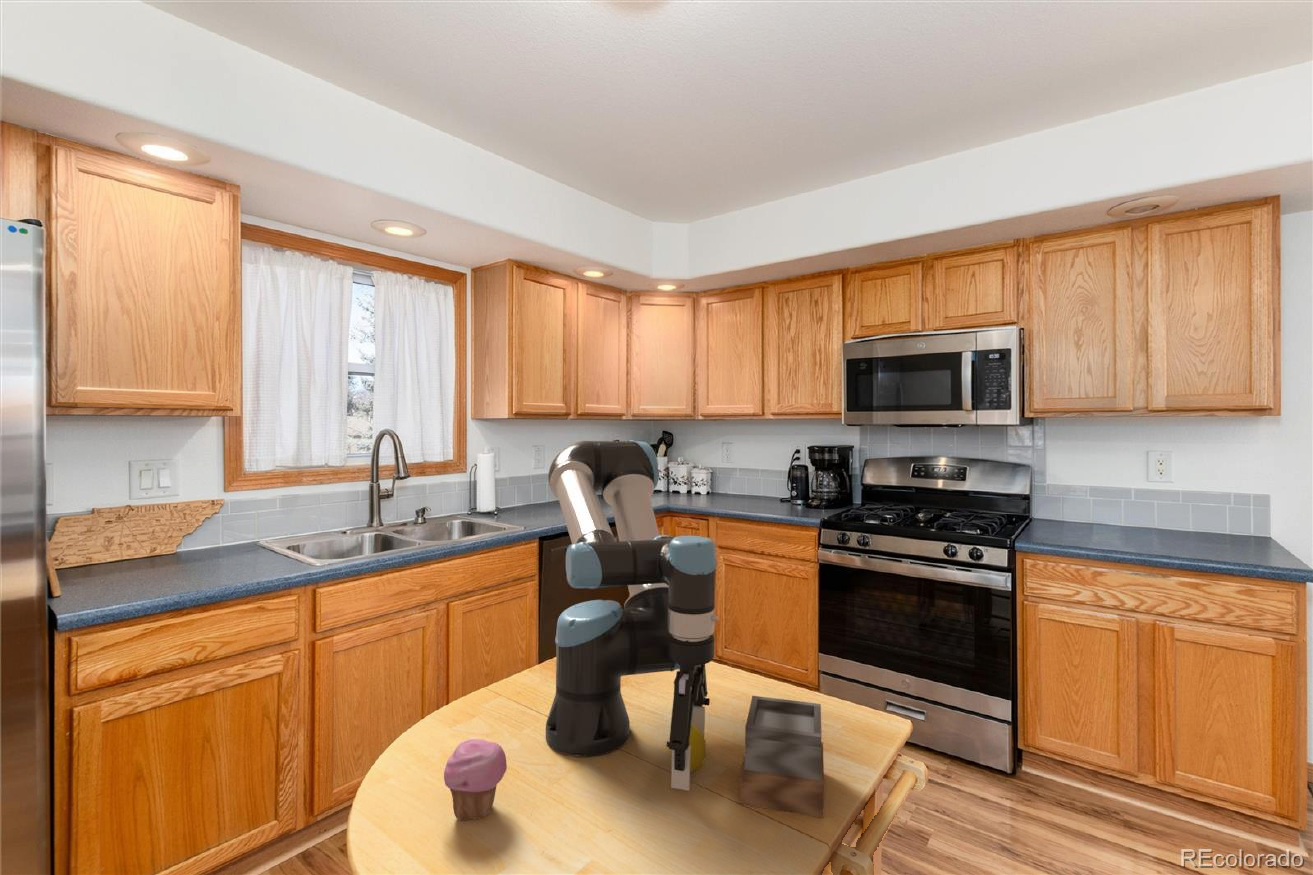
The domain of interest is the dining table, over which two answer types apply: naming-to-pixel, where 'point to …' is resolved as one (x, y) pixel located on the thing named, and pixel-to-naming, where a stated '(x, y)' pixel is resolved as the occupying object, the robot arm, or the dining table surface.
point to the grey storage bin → (783, 757)
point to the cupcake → (474, 777)
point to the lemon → (696, 748)
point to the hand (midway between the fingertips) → (688, 764)
